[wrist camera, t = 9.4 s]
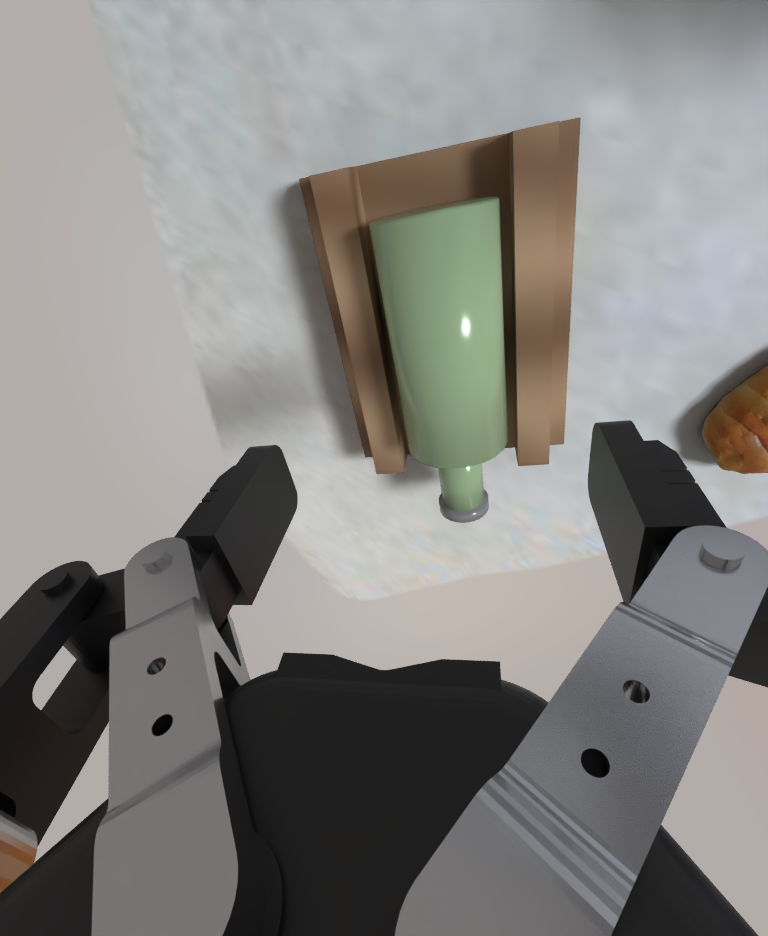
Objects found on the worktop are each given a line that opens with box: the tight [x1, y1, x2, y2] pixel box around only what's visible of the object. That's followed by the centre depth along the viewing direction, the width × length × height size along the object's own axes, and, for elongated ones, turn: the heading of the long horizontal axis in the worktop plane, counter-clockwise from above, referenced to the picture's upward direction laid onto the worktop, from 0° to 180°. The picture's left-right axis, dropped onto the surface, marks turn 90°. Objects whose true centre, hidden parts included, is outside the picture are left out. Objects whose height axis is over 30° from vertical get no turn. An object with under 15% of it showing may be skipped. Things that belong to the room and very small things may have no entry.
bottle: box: [369, 197, 508, 523], centre depth 20 cm, size 14×5×5 cm, turn 10°
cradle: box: [299, 118, 580, 474], centre depth 21 cm, size 14×11×3 cm
